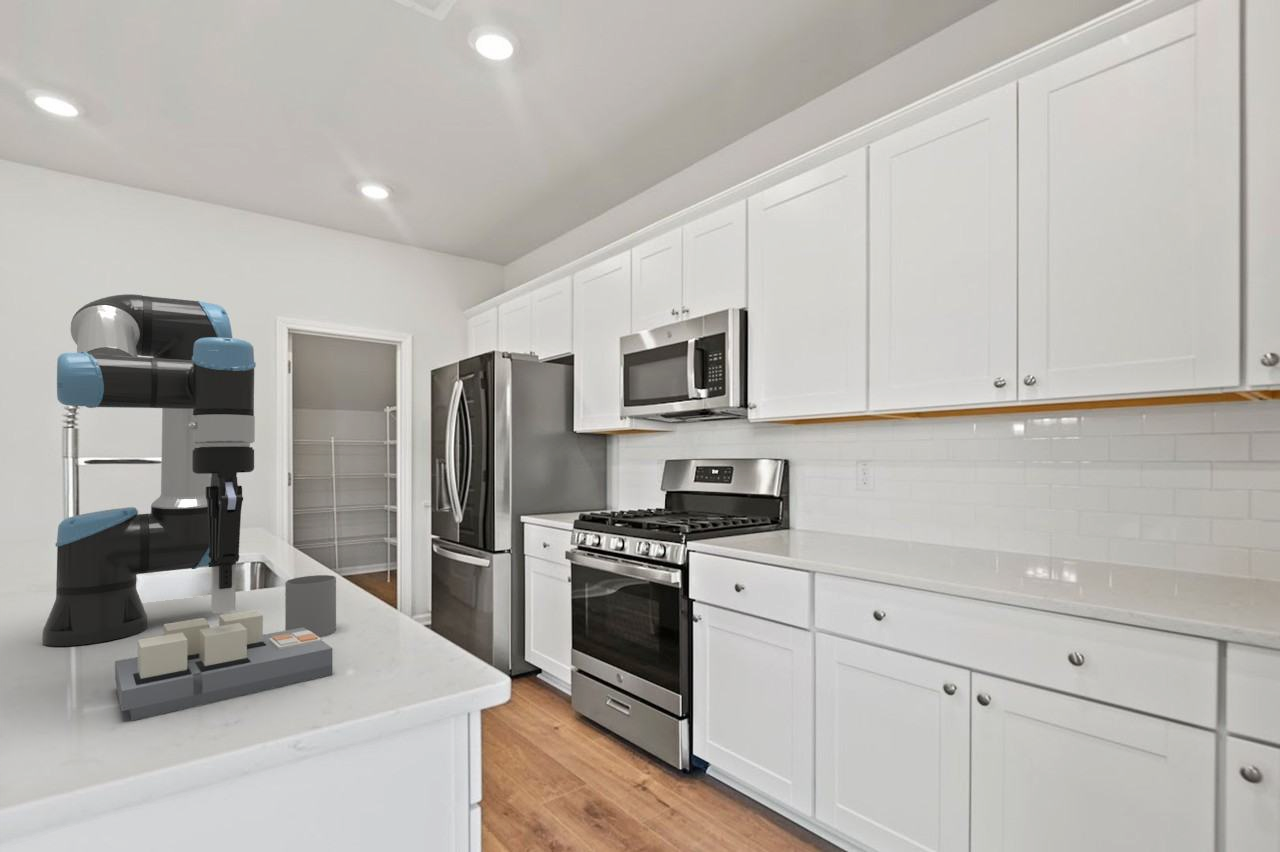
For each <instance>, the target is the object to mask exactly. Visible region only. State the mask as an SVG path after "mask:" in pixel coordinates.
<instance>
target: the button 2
mask: <svg viewBox="0 0 1280 852" xmlns="http://www.w3.org/2000/svg"><path fill="white" fill-rule="evenodd" d="M206 628H210V623H209V622H208V621H207V620H206V618H205V617H199V618H193V619H188V620H181V621H174V622H169V623H164V624H163V635H169V634H175V633H181V632H183V634H184V635H185V637H186V638H187V655H192V654H198V653H199V635H200V629H206Z"/></svg>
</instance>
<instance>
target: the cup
mask: <svg viewBox="0 0 1280 852" xmlns="http://www.w3.org/2000/svg"><path fill="white" fill-rule="evenodd" d="M284 587H285V593H284V594H285V595H284V596H285V607H284V609H285V613H284V614H285V615H284V617H285V619H284V620H285V630H284V631H286V630H292V629H297V628H303V627H304V628H305V629H307V630H309V631H311V632H312V633H314V634H315V635H316V636H318V637H319V638H324V637H327V636H330V635H332V634H334V633H335V632H336V631H337V576H334V575H328V574H324V575H323V574H318V575H317V574H315V575H308V576H307V575H306V576H305V575H304V576H301V577H294V578H291V579H288V580H287V581H285V586H284Z"/></svg>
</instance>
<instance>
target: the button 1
mask: <svg viewBox="0 0 1280 852" xmlns="http://www.w3.org/2000/svg"><path fill="white" fill-rule="evenodd" d="M137 657H138V672H139V675H140V678H141V679H142V678H147V677H152V676H157V675H162V674H167V673H172V672H177V671H183V670H187V638H186V637H185V635H184V634H183V632H181V633H175V634H169V635H164V634H163V635H157V636H153V637H147V638H139V639H137Z"/></svg>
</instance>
